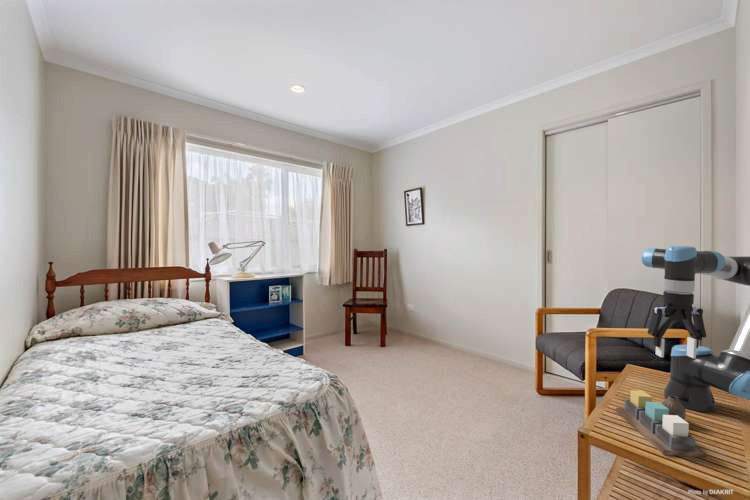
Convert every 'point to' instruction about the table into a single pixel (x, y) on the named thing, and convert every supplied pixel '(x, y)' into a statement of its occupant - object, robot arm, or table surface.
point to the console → (659, 433)
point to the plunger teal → (656, 410)
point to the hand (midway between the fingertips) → (675, 356)
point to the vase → (674, 407)
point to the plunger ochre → (639, 398)
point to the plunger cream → (675, 425)
